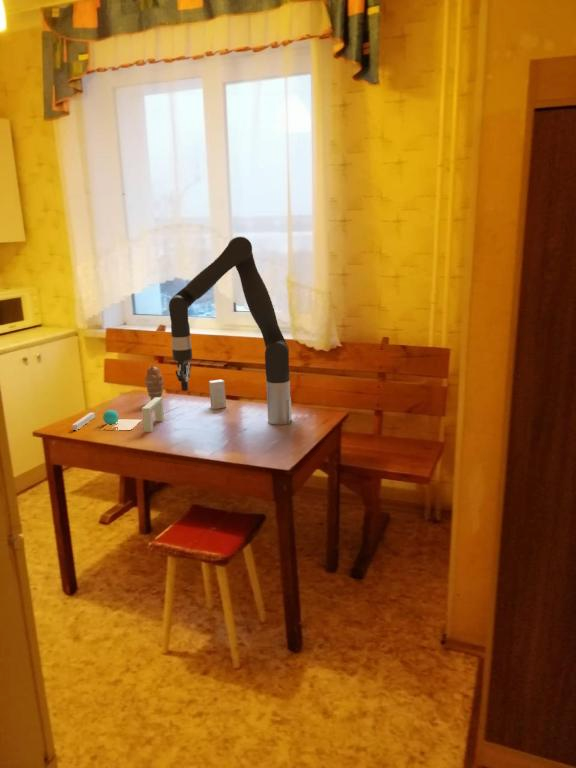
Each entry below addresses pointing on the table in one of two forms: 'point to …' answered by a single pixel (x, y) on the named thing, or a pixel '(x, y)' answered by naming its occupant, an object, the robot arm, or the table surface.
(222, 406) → the skincare box
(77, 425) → the stopper
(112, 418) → the ball
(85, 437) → the table surface
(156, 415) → the bridge
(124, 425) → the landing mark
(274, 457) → the table surface
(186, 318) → the robot arm
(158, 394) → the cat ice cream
